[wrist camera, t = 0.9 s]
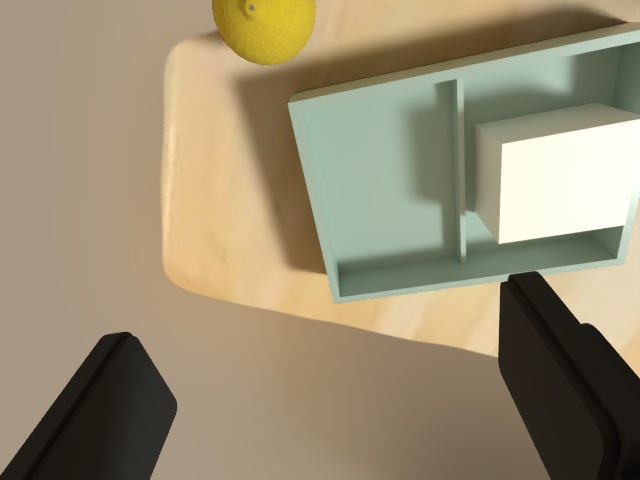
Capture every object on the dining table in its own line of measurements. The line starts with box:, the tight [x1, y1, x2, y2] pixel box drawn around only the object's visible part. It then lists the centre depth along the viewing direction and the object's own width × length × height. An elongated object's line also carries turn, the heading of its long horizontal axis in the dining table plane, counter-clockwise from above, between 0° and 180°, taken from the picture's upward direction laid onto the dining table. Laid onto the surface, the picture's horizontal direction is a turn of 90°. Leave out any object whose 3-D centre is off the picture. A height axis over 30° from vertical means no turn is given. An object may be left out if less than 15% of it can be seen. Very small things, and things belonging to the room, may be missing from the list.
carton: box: [475, 102, 640, 244], centre depth 26 cm, size 7×8×5 cm
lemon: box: [212, 0, 316, 65], centre depth 21 cm, size 6×6×8 cm
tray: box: [287, 22, 640, 304], centre depth 27 cm, size 16×22×4 cm
